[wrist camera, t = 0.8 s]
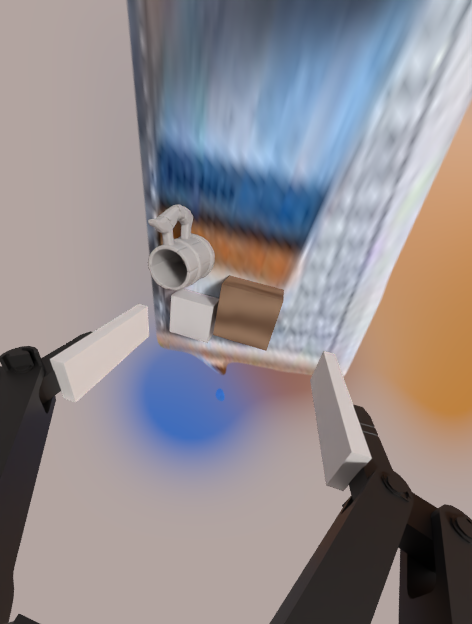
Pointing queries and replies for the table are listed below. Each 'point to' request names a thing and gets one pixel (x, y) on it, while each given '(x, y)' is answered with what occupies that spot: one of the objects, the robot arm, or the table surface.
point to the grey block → (193, 314)
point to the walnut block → (247, 312)
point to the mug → (179, 251)
